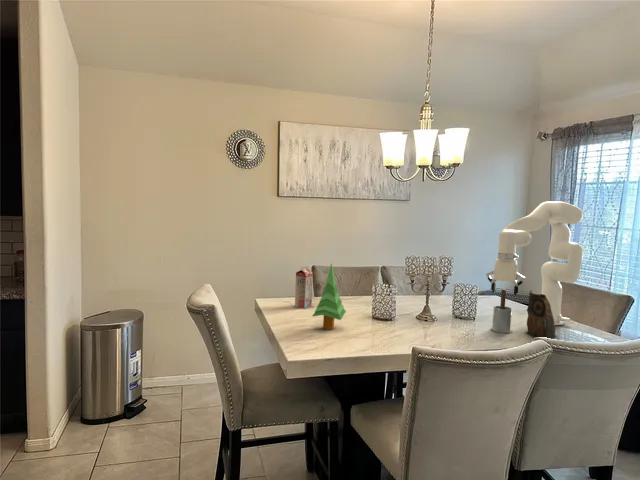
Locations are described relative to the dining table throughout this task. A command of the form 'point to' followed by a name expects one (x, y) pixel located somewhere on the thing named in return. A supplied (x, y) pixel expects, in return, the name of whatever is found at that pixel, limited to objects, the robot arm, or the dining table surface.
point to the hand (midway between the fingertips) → (504, 293)
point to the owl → (540, 316)
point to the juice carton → (303, 288)
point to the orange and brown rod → (503, 298)
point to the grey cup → (501, 319)
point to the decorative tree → (330, 303)
